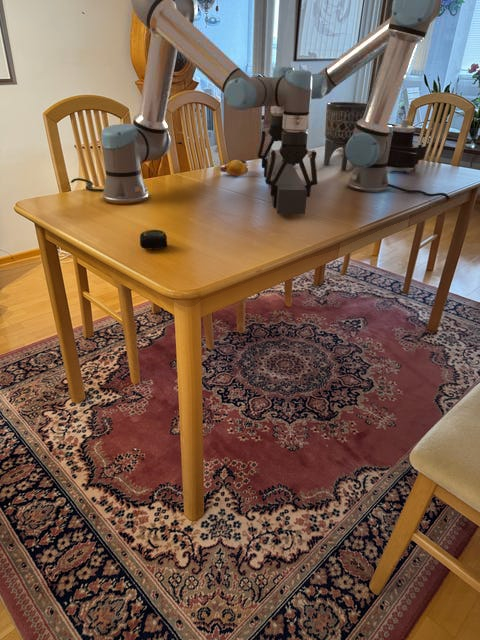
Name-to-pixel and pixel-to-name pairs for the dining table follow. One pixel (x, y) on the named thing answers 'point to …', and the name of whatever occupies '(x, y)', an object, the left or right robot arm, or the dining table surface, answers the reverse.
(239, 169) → the toy
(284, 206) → the long gray bar
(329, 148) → the planter
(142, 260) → the dining table surface
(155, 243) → the tape measure
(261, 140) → the right robot arm
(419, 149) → the mechanical component
